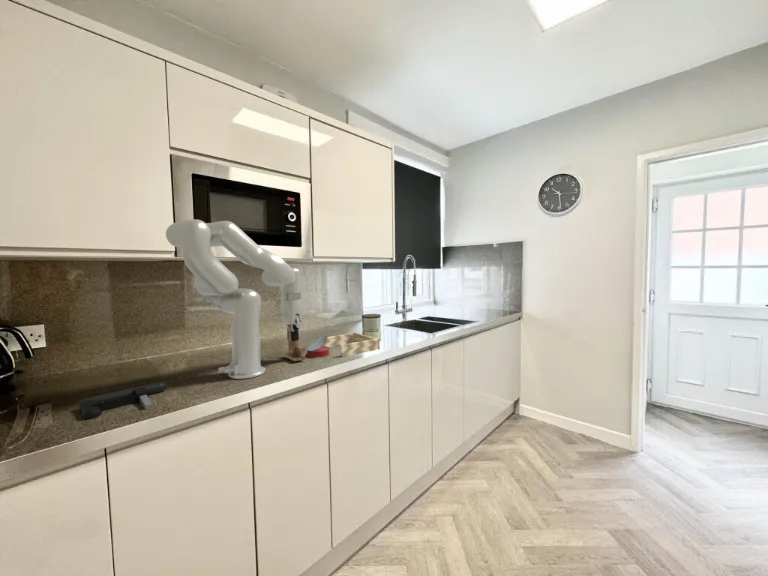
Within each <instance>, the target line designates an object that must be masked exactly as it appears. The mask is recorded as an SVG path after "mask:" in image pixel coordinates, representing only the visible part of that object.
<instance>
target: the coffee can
mask: <svg viewBox="0 0 768 576" xmlns="http://www.w3.org/2000/svg"><path fill="white" fill-rule="evenodd" d="M381 317H382V315H381V314H379V313H365V314H362V315H361V323H362V324H361V329H362V331H361V332H362V334H361V335H366V336H370V337H374V338H379V339H380V342H381V341H382V326H381V325H382V324H381V321H382V319H381Z"/></svg>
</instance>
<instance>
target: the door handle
mask: <svg viewBox="0 0 768 576" xmlns="http://www.w3.org/2000/svg"><path fill="white" fill-rule="evenodd" d="M166 387H167V386H166V383H165V381H164V382H163V381H162V382H156V383H151V384H150V383H149V384H147V385H142V386H137V387H133V388H129V389H124V390H123V389H122V390H119V391H115V392H109V393H105V394H101V395H97V396H95V395H94V396H92V397H87V398H84V399H82V400H80V402H79V405H78V406H79V409H80V412H81V416H82V419H83V420H92V419H95V418H96V419H97V418H98V417H100V416H101V415H102V413H103V412H104V411H107V410H112V409H116V408H120V407H124V406H128V405H132V404H137V403H139V404H141V406H142V407H143V408H144V410H145V411H146V410H150V409H154V408H153V407H154V406H153V405H154V404H153V402H152V400H151V399H150V395H153V394H158V393H161V392H163V391H165V390H166V389H167V388H166Z"/></svg>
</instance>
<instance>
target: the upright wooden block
mask: <svg viewBox="0 0 768 576" xmlns="http://www.w3.org/2000/svg"><path fill="white" fill-rule="evenodd" d="M294 326H296V325H294ZM287 331H288V339H287V341H288V352H285V353H284V352H283V353H282V357H283V358H286V359H289V360H290V361H292V362H298V361H303V360H306V347H305V346H302V345H300V344H299V340H297V341H291V332H292V328H291V325H288V330H287Z"/></svg>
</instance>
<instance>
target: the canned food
mask: <svg viewBox="0 0 768 576" xmlns="http://www.w3.org/2000/svg"><path fill="white" fill-rule="evenodd" d="M327 337H328V336H327V335H325V336H322V337H320V339H319V338H318V339H316V341H314V342H313V343H311V344H310V345H309V346H308V347H307V349H306V351H307V352H306V355H307V357H308V358H311V357H320V358H325V357H328V356H330V347H325V346H323V345H324V344H325V343H326V341H327ZM324 356H325V357H324Z"/></svg>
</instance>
